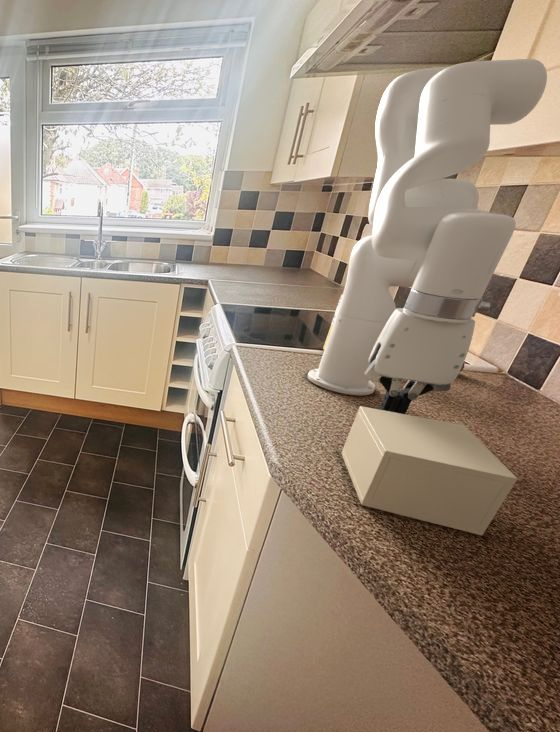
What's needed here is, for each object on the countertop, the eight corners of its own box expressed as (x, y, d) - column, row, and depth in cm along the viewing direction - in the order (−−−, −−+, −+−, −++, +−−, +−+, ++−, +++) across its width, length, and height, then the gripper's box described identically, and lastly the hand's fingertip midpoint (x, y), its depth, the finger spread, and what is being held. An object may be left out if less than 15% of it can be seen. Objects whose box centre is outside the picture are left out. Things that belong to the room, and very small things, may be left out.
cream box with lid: (341, 453, 67) (359, 405, 63) (438, 474, 62) (464, 425, 59) (361, 505, 55) (385, 450, 52) (482, 535, 51) (518, 478, 47)
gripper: (493, 306, 60) (437, 416, 68) (371, 293, 65) (332, 397, 73) (522, 320, 54) (456, 439, 62) (384, 304, 59) (340, 416, 67)
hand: (389, 416), depth 68 cm, fingers closed
